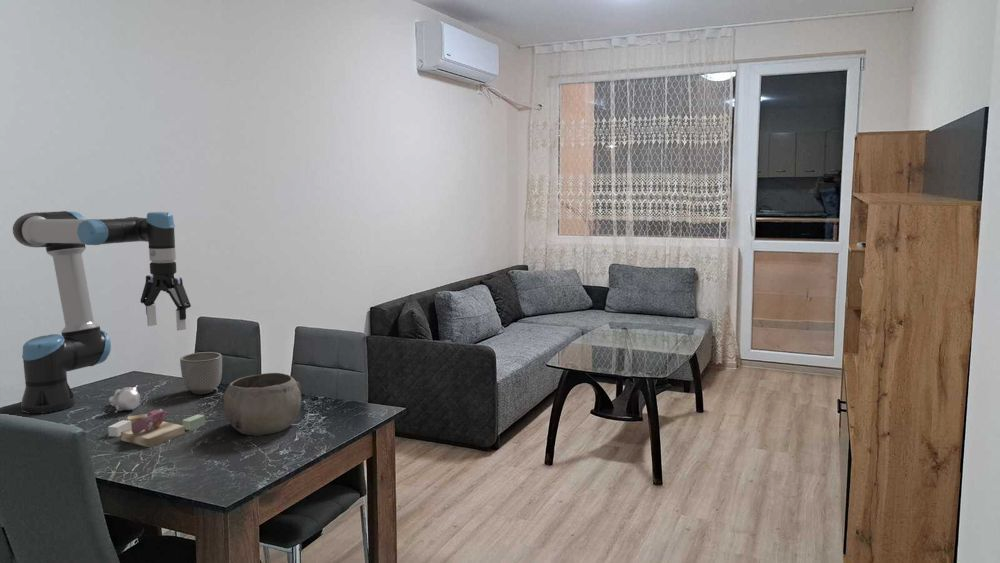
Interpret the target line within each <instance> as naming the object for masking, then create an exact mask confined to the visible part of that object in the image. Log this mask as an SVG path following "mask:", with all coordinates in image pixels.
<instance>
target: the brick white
mask: <svg viewBox="0 0 1000 563" xmlns="http://www.w3.org/2000/svg"><path fill="white" fill-rule="evenodd" d="M107 427H108V428H107V430H108V436H109V437H117V438H118V437H121V432H123V431H126V430H128V429H131V428H132V427H131V421H128V420H126V419H125V420H124V419H123V420H120V421H118V422H116V423H113V424H111V425H109V426H107Z"/></svg>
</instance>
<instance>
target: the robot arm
mask: <svg viewBox="0 0 1000 563" xmlns="http://www.w3.org/2000/svg"><path fill="white" fill-rule="evenodd" d="M174 220H175V219H174V216H173V213H171V211H170V212H169V211H153V212H152V211H150V212H147V214H146V217H138V216H130V217H125V218H123V217H122V218H103V219H102V218H100V219H98V218H97V219H93V218H92V219H88V218H87V219H86V218H85V216H83V215H82V214H81V213H80V212H77V211H69V210H68V211H67V210H62V211H47V212H46V211H45V212H43V211H42V212H37V211H36V212H29V213H25V214H24V215H21V216H20V217H18V218H17V219H16V220H15V222H14V223H13V225H12V233H13V234H12V235H13V237H14V239H15V240H16V241H17V242H18V243H20V244H21V245H23V246H26V247H29V248H45V251H46V254H47V255H49V256H51V257H52V260H53V266H54V270H55V271H54V272H55V276H56V280H57V281H56V282H57V287H58V293H59V294H58V295H59V299H60V304H61V310H62V314H63V320H64V328H63V329H62V330H61V332H60V333H61V334H57V333H56V334H54V333H53V334H47V335H41V336H37V337H34V338H31V339H28V340H27V341H26V342H25V343H24V344H23V345H22V355H21V356H22V363H23V370H24V382H25V388H24V391H23V392H24V393H23V395H22V398H21V402H20V410H23V411H26V412H29V413H41V414H43V413H42V412H50V411H55V412H59V411H58V410H60V411H63V410H62V409H64V410H66V408H67V409H69V408H71V407H73V406H74V405H76V404H75V403H76V401H75V400H76V398H75V394H73V391H72V389H71V387H70V385H69V383H68V377H67V372H72V371H76V370H79V369H84V368H88V367H94V366H97V365H100V364H102V363H103V362H105V361H106V360H107V359H108V357H109V356H110V355H111V354H110V353H111V350H112V349H111V348H112V344H111V342H112V340H111V338H110V336H109V335H108V333H107V331H104V330H102V329H101V326H100V325H99V324H98V323H96V322H95V321H94V320H95V319H94V316H93V309H92V303H91V299H90V293H89V288H88V281H87V277H86V272H85V271H86V270H85V265H84V259H83V252H85V250H86V248H87V247H86V246H99V245H100V246H101V245H109V244H122V243H123V244H124V243H133V242H146V243H148V254H149V255H148V256H149V261H150V263H149V273H150V274H149V275H146V276H145V282H144V283H145V284H144V287H143V290H142V293H141V297H140V303H141V304H144V307H145V314H146V323H147V327H151V326H152V327H154V326H157V312H156V311H157V309H156V304H155V301H156V300H157V298H158V296H159V294H160V292H165V293H166V294H168V295H169V296H170V299H171V300H172V302H173V303H174V305H175V307H176V309H175V317H176V331H178V332H179V331H183V330H186V329H187V327H186V326H187V323H186V320H187V311H186V310H187V309H189V308H191V307H192V304H191V303H190V300H189V299H190V298H189V297H188V294H187V292H186V290H185V288H184V287H185V286H184V284H183V278H182V277H175V274H176V273H177V262H176V259H177V256H176V255H177V253H176V242H175V241H176V239H175V238H176V237H175V222H174ZM29 413H28V414H29ZM50 413H51V412H50Z"/></svg>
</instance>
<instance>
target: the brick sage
mask: <svg viewBox="0 0 1000 563" xmlns="http://www.w3.org/2000/svg"><path fill="white" fill-rule="evenodd" d="M205 425H206V415H203V414H198V413H197V414H195V415H192V416H189V417H187V418H184V419H182V426H184V428H185V431H186V430H187V431H192V430H194V429H197V428H200V427H202V426H205Z"/></svg>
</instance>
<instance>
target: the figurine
mask: <svg viewBox="0 0 1000 563" xmlns="http://www.w3.org/2000/svg"><path fill="white" fill-rule="evenodd" d="M137 388H138V384H137V385H135V386H132V387H128V386H125V387H122V388H121V389H119V388H118V389H115V391H114V395H113V396H110V397H109V398H108V401H109V403H110V404H109V405H111V406H113V407H114V408H115V409H116V410H115V411H114V413H116V414H117V413H118V411H119V412H122V411H131V410H134V409H135V408H136V409H137V407H138V406H139V405H140V404H141V395H140V393H139V391H138V389H137Z"/></svg>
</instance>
